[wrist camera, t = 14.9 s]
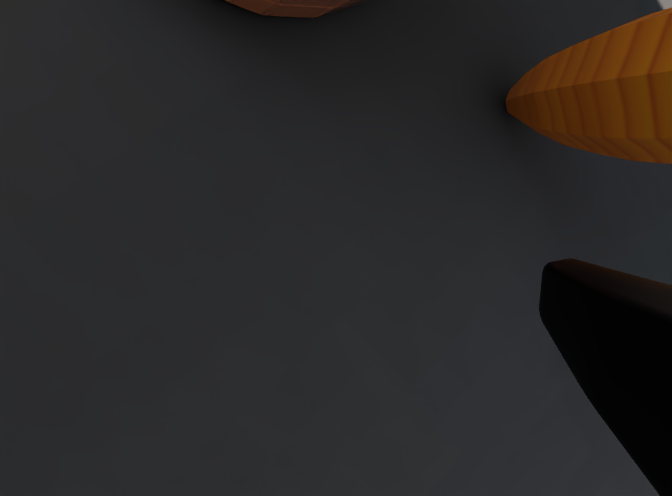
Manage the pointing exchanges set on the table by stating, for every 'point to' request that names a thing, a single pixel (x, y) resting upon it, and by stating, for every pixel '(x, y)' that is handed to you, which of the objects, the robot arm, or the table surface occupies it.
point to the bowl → (294, 7)
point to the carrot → (605, 92)
